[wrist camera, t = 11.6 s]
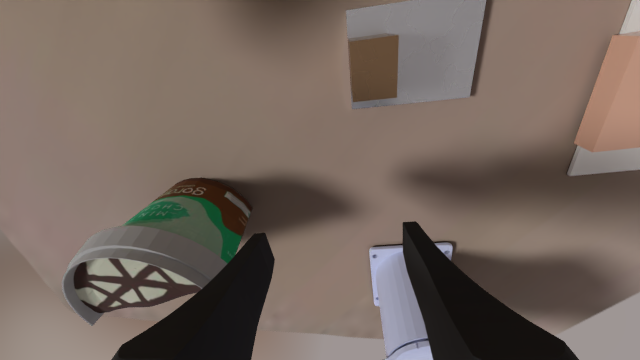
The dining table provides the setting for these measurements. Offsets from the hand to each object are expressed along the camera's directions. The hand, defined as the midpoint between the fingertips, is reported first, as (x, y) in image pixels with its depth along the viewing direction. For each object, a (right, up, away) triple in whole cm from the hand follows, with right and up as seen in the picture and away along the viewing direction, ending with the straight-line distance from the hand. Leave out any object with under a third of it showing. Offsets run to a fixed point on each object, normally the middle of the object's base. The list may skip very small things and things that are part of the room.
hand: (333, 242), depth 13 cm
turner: (+5, +12, +4) cm, 13 cm away
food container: (-13, +2, +11) cm, 17 cm away
